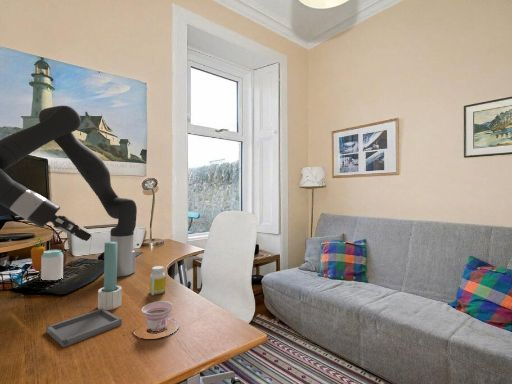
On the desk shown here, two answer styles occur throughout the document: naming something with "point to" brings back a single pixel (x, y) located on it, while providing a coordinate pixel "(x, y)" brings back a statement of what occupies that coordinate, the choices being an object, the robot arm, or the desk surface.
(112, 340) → the desk surface
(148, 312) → the teacup
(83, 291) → the desk surface
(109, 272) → the dowel
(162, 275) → the supplement bottle
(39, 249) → the carrot
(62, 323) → the tray
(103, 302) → the cup
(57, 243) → the wooden figurine
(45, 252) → the can
